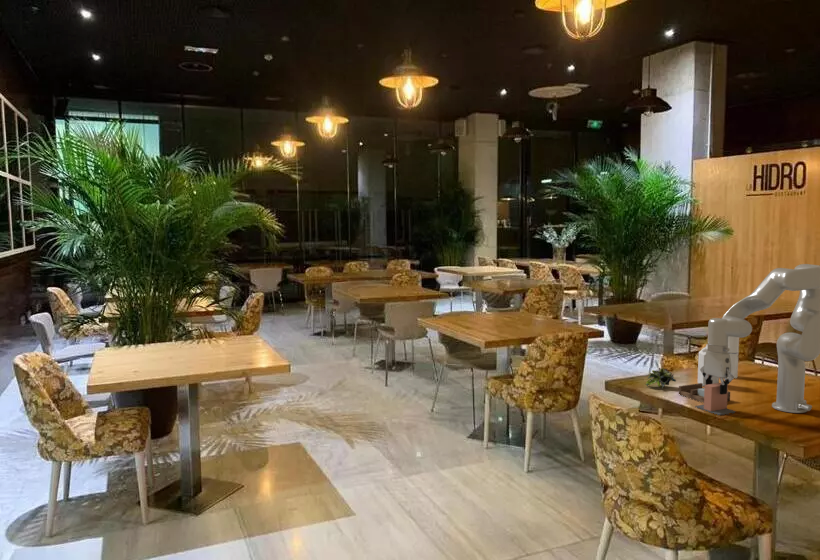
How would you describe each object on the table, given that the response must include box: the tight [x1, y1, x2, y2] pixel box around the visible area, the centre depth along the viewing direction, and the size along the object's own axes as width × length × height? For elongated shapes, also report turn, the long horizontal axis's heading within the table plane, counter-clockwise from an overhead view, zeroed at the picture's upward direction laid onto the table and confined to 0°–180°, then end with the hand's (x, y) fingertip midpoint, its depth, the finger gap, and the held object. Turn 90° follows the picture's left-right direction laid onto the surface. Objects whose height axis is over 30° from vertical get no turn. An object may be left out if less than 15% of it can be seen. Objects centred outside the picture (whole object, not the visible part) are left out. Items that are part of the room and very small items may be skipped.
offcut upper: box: [698, 387, 705, 397], centre depth 269 cm, size 6×8×2 cm
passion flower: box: [645, 367, 677, 389], centre depth 289 cm, size 11×11×12 cm
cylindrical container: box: [727, 336, 740, 379], centre depth 307 cm, size 7×7×25 cm
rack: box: [678, 382, 731, 404], centre depth 272 cm, size 16×13×4 cm
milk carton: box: [697, 343, 720, 387], centre depth 292 cm, size 7×7×19 cm
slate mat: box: [694, 404, 737, 416], centre depth 255 cm, size 12×9×1 cm
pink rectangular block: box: [703, 382, 729, 411], centre depth 254 cm, size 4×9×10 cm, turn 112°
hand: (716, 391), depth 254 cm, fingers open, 6 cm apart
